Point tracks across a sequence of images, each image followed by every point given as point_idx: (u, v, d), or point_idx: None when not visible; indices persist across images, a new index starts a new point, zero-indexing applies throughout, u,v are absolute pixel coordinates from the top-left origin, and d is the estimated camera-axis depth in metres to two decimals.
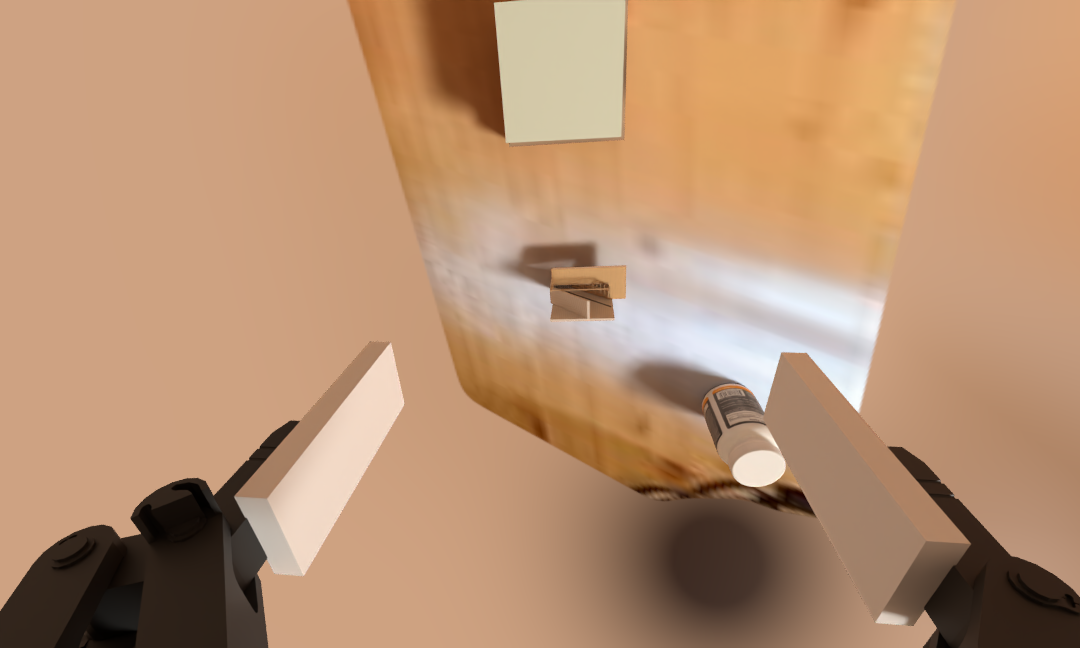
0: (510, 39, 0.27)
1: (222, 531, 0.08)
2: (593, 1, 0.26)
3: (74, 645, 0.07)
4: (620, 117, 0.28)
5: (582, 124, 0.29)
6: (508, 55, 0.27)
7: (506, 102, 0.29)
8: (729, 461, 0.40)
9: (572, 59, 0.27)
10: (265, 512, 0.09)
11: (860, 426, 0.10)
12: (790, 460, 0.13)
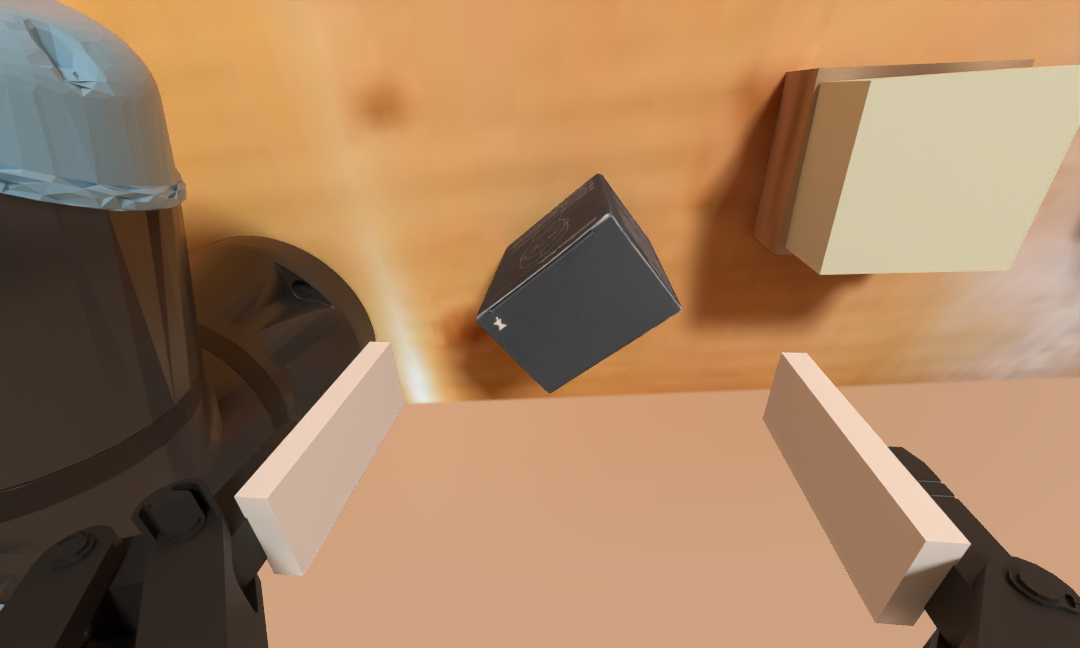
0: (869, 255, 0.19)
1: (222, 531, 0.08)
2: (867, 133, 0.17)
3: (75, 645, 0.07)
4: (1071, 68, 0.16)
5: (1044, 143, 0.17)
6: (888, 260, 0.19)
7: (950, 265, 0.19)
8: None
9: (934, 164, 0.17)
10: (265, 512, 0.09)
11: (860, 426, 0.10)
12: (789, 460, 0.13)
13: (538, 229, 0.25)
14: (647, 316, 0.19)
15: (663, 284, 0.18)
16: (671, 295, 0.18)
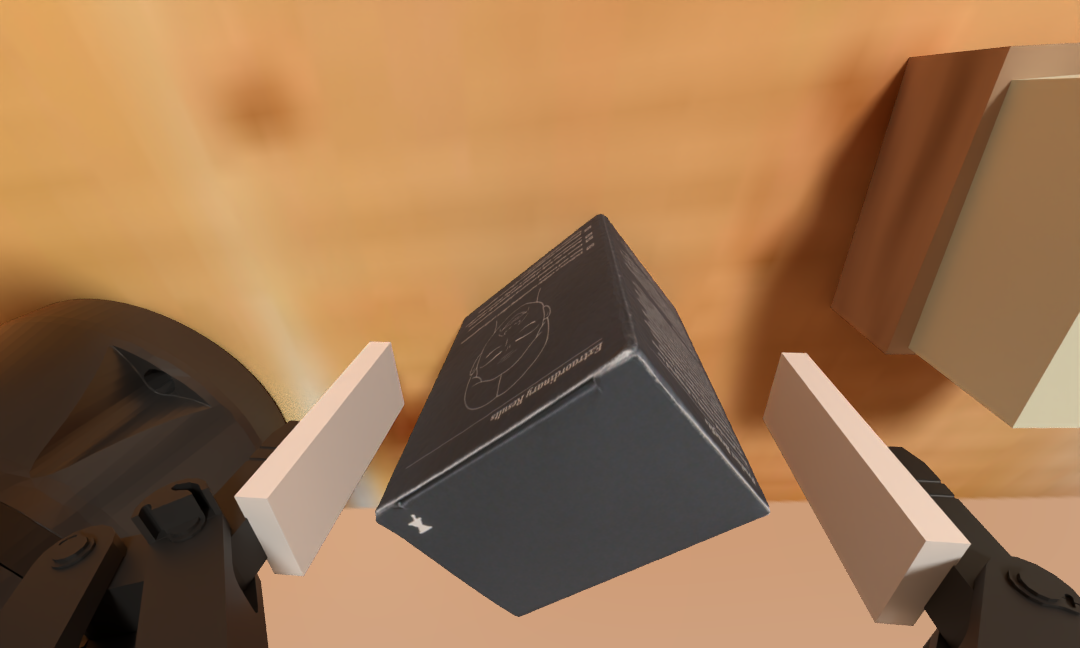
0: None
1: (222, 531, 0.08)
2: None
3: (75, 645, 0.07)
4: None
5: None
6: None
7: None
8: None
9: None
10: (265, 512, 0.09)
11: (860, 426, 0.10)
12: (790, 460, 0.13)
13: (506, 304, 0.16)
14: (702, 522, 0.10)
15: (737, 471, 0.09)
16: (751, 489, 0.09)
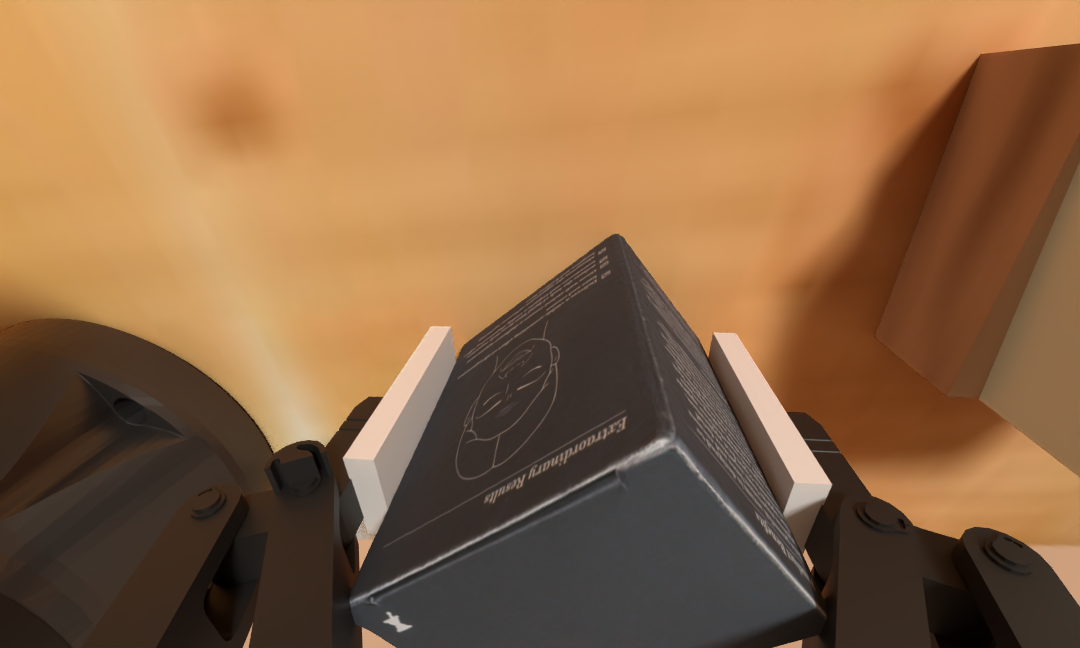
0: None
1: (333, 493, 0.09)
2: None
3: (202, 593, 0.08)
4: None
5: None
6: None
7: None
8: None
9: None
10: (369, 473, 0.10)
11: (766, 393, 0.12)
12: None
13: (508, 335, 0.14)
14: (747, 637, 0.08)
15: (796, 580, 0.07)
16: (813, 601, 0.07)
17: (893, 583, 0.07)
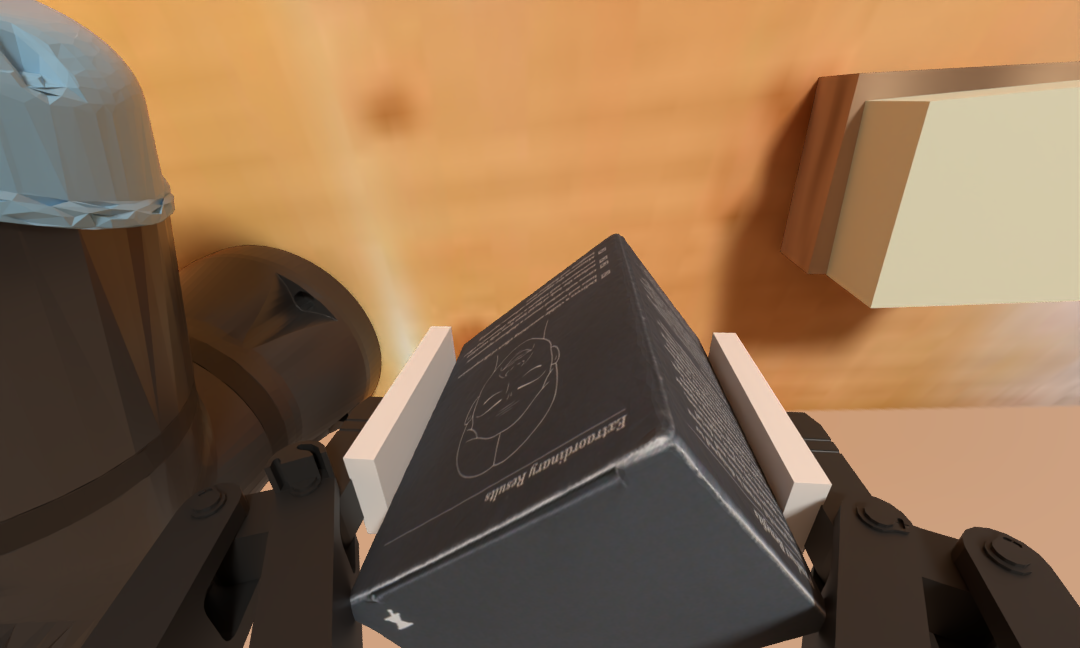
0: (926, 287, 0.18)
1: (333, 493, 0.09)
2: (925, 158, 0.16)
3: (203, 593, 0.08)
4: None
5: None
6: (948, 291, 0.18)
7: (1019, 296, 0.18)
8: None
9: (1001, 189, 0.16)
10: (369, 473, 0.10)
11: (766, 393, 0.12)
12: None
13: (509, 335, 0.14)
14: (746, 634, 0.08)
15: (795, 578, 0.07)
16: (811, 598, 0.07)
17: (893, 583, 0.07)
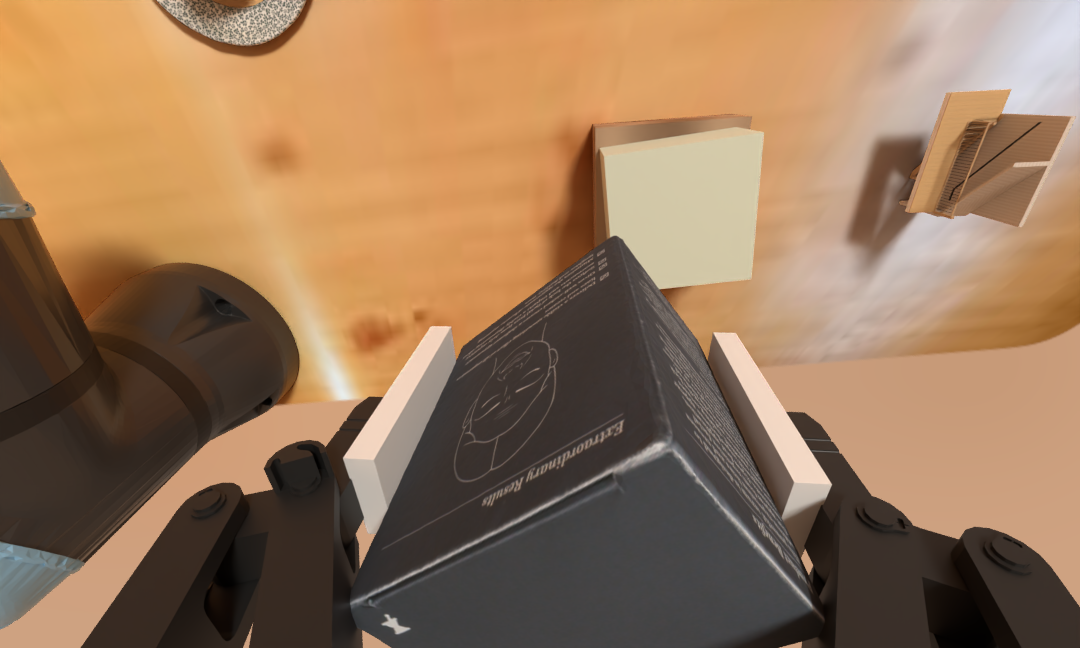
0: None
1: (334, 493, 0.09)
2: (613, 192, 0.23)
3: (203, 593, 0.08)
4: (739, 138, 0.22)
5: (740, 188, 0.23)
6: (661, 279, 0.25)
7: (707, 279, 0.25)
8: None
9: (668, 209, 0.23)
10: (369, 473, 0.10)
11: (766, 393, 0.12)
12: None
13: (507, 337, 0.14)
14: (745, 640, 0.08)
15: (793, 583, 0.07)
16: (810, 604, 0.07)
17: (894, 583, 0.07)
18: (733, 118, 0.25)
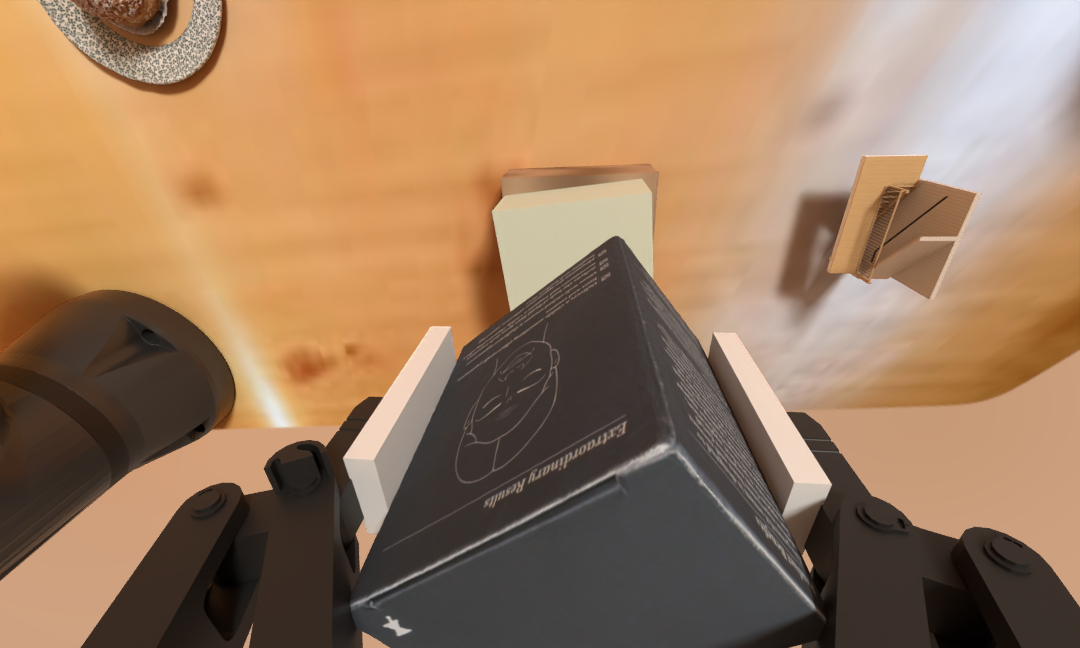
0: None
1: (333, 493, 0.09)
2: (505, 246, 0.23)
3: (203, 593, 0.08)
4: (626, 197, 0.21)
5: (634, 247, 0.22)
6: None
7: None
8: None
9: (562, 264, 0.23)
10: (369, 473, 0.10)
11: (765, 393, 0.12)
12: None
13: (508, 337, 0.14)
14: (747, 641, 0.08)
15: (797, 585, 0.07)
16: (814, 605, 0.07)
17: (893, 583, 0.07)
18: (640, 173, 0.24)
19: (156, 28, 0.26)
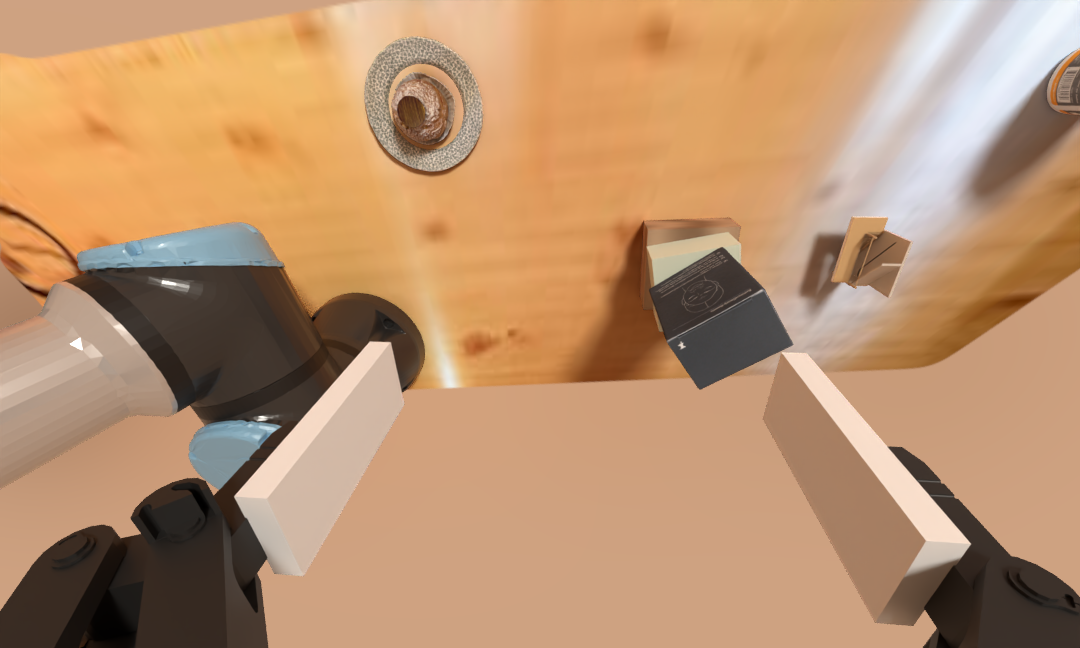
0: None
1: (222, 531, 0.08)
2: (657, 277, 0.41)
3: (76, 644, 0.07)
4: (727, 247, 0.39)
5: None
6: None
7: None
8: None
9: None
10: (265, 512, 0.09)
11: (860, 426, 0.10)
12: (789, 460, 0.13)
13: (683, 282, 0.38)
14: (772, 347, 0.32)
15: (785, 329, 0.31)
16: (788, 336, 0.32)
17: None
18: (730, 227, 0.42)
19: (437, 141, 0.44)
